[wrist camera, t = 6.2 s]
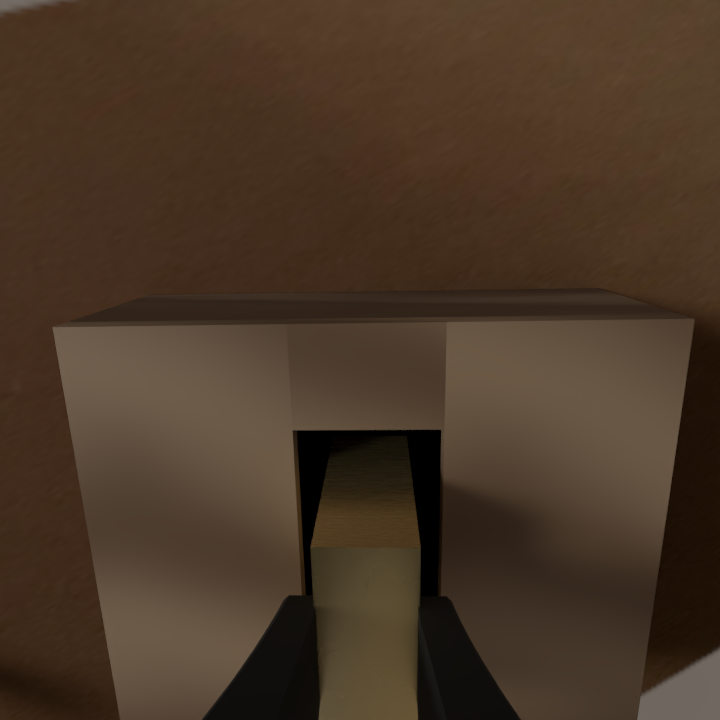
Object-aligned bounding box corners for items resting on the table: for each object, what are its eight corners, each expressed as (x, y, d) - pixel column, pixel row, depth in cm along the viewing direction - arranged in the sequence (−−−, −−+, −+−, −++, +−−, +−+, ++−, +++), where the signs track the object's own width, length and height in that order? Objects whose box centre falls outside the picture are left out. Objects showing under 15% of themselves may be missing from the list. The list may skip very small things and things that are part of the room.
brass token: (406, 591, 16) (417, 758, 11) (338, 591, 16) (320, 756, 11) (406, 435, 14) (420, 547, 10) (333, 436, 14) (310, 547, 10)
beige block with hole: (567, 618, 19) (631, 755, 14) (187, 614, 20) (124, 745, 15) (599, 288, 16) (695, 318, 11) (148, 295, 17) (52, 327, 12)
